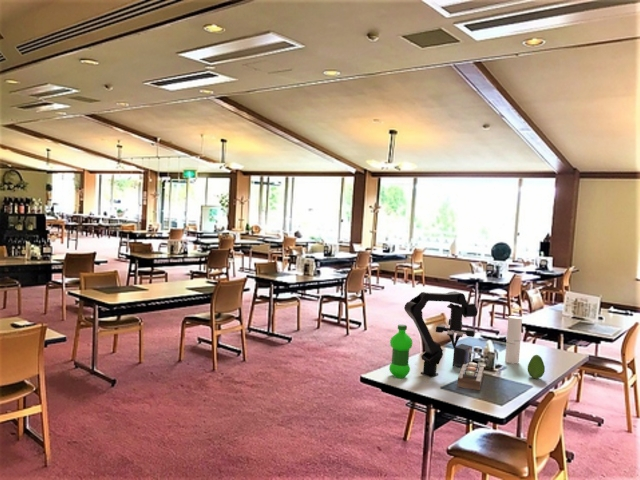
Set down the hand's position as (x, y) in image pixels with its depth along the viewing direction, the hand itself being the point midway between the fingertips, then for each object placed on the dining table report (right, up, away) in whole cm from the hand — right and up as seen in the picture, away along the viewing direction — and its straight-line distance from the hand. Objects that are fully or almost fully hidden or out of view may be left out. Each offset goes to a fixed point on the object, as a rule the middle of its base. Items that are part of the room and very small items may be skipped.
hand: (454, 347), depth 261 cm
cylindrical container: (+39, -14, +28) cm, 50 cm away
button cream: (+9, -9, -2) cm, 13 cm away
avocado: (+41, -16, 0) cm, 44 cm away
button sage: (+3, -10, -17) cm, 20 cm away
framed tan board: (+6, -14, -9) cm, 18 cm away
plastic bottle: (-29, -12, -9) cm, 33 cm away
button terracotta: (+6, -10, -10) cm, 15 cm away
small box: (+8, -13, +15) cm, 21 cm away
